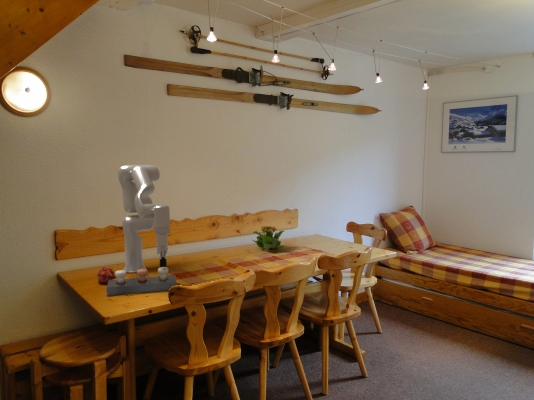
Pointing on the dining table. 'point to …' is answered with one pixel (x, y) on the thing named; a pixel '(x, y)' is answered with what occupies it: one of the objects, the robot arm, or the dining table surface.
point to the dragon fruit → (105, 275)
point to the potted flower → (269, 239)
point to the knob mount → (140, 285)
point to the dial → (142, 274)
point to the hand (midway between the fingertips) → (163, 266)
